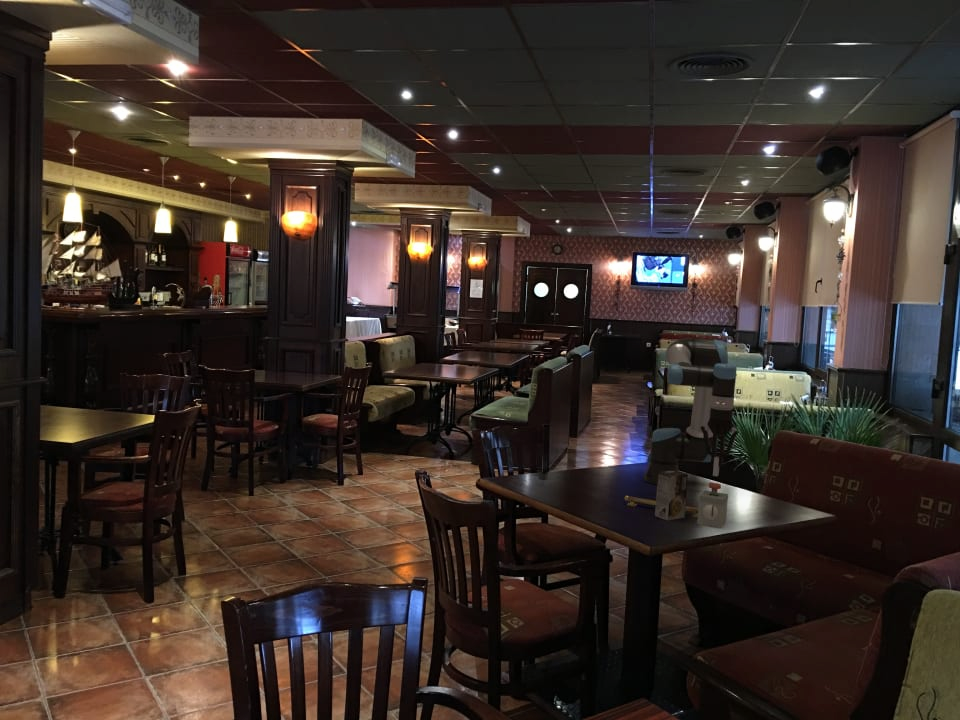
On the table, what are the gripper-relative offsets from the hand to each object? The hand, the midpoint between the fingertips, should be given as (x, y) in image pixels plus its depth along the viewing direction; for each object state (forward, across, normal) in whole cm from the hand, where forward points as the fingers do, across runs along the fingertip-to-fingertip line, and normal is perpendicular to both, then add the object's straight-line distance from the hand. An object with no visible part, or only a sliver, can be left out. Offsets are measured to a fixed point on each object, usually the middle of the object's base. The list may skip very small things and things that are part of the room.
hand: (715, 475), depth 264 cm
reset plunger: (+8, 0, 0) cm, 8 cm away
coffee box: (+17, -14, -3) cm, 22 cm away
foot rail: (+17, -18, +5) cm, 25 cm away
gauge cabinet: (+17, 0, -1) cm, 17 cm away
